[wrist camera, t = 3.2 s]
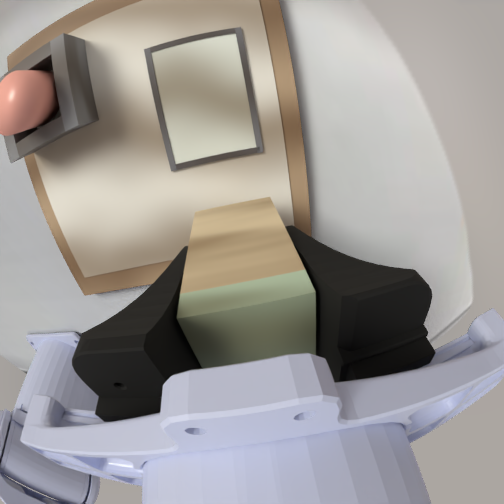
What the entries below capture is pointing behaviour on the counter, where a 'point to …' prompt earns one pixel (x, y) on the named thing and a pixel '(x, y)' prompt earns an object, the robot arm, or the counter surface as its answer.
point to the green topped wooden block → (245, 287)
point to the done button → (27, 100)
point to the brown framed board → (160, 129)
